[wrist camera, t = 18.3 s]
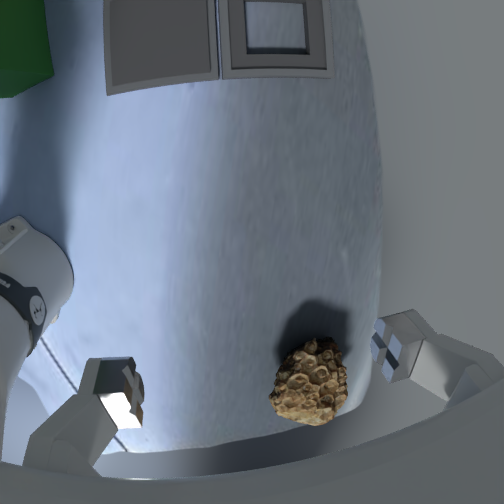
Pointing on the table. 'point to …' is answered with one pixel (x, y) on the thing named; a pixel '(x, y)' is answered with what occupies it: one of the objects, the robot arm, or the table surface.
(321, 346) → the fossil
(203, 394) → the table surface
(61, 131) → the table surface
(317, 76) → the equipment case
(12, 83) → the hardback book
